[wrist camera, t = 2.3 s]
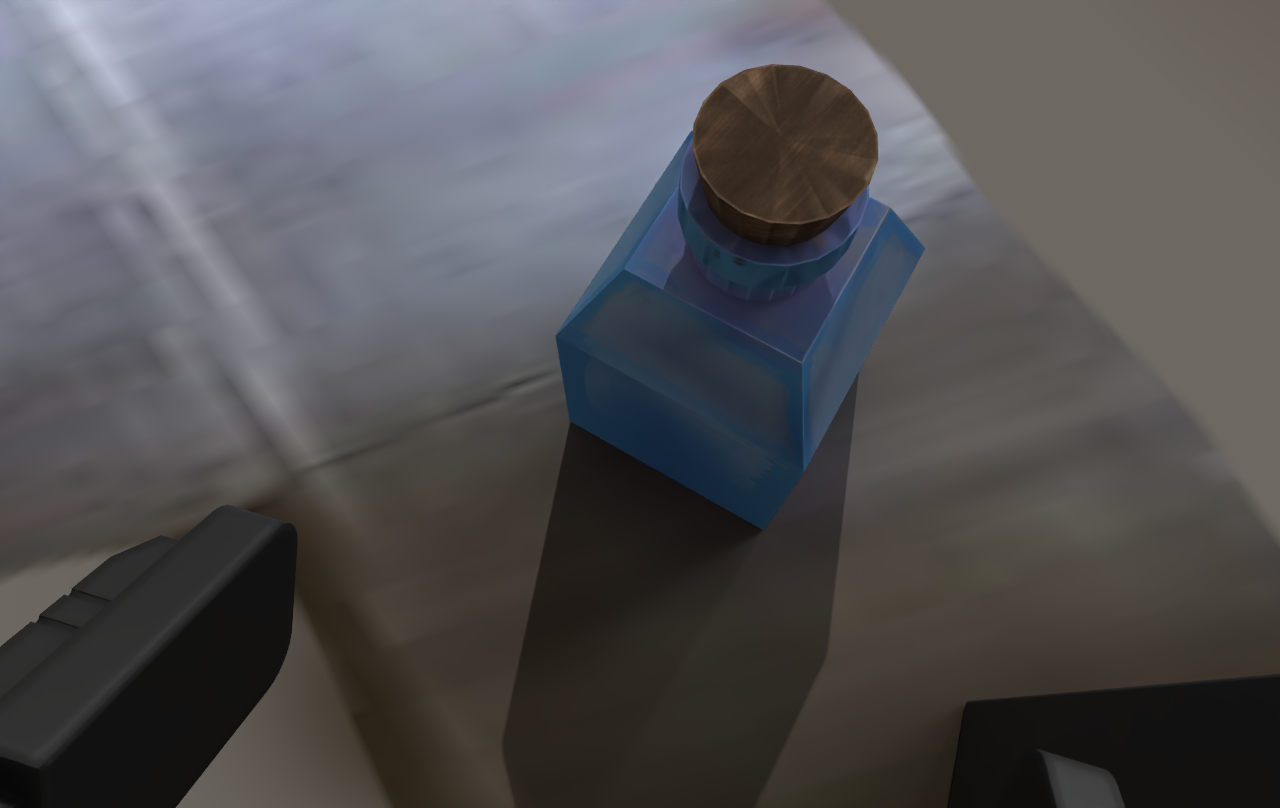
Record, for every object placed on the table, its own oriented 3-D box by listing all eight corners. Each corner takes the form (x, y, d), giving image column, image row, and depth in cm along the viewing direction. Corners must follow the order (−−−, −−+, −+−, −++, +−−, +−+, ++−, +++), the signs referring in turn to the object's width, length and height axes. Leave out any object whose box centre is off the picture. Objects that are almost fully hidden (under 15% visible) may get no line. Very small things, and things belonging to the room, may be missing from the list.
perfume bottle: (677, 252, 29) (712, -57, 18) (861, 349, 28) (1025, 88, 17) (570, 421, 27) (532, 198, 16) (763, 530, 26) (871, 376, 15)
